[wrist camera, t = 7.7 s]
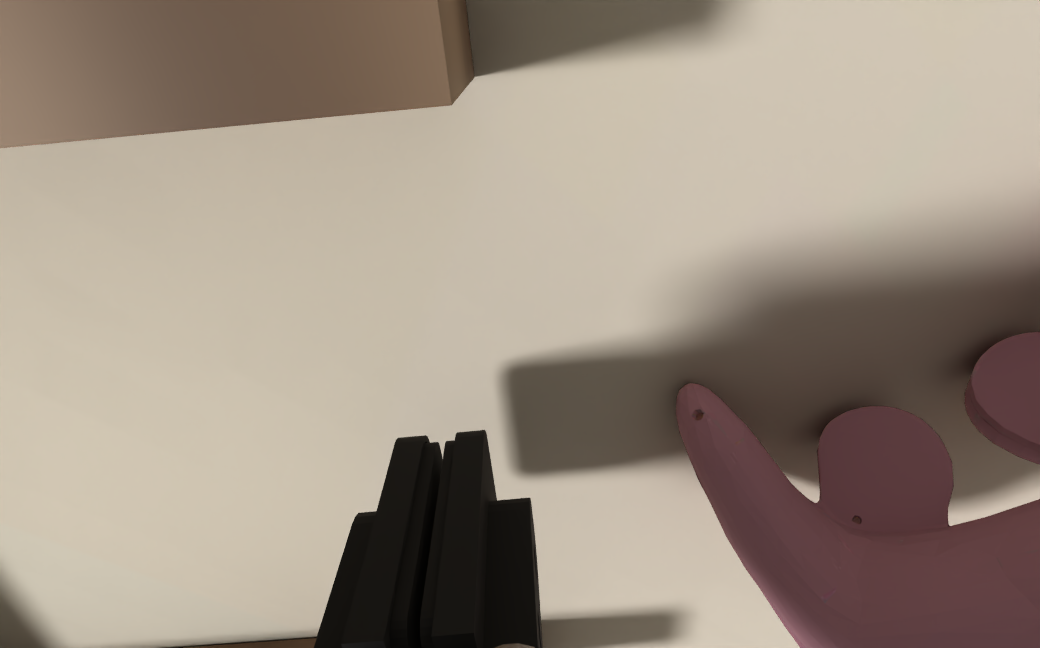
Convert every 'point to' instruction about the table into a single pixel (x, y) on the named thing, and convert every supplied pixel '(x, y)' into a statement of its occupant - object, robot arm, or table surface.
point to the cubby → (220, 70)
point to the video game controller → (883, 519)
